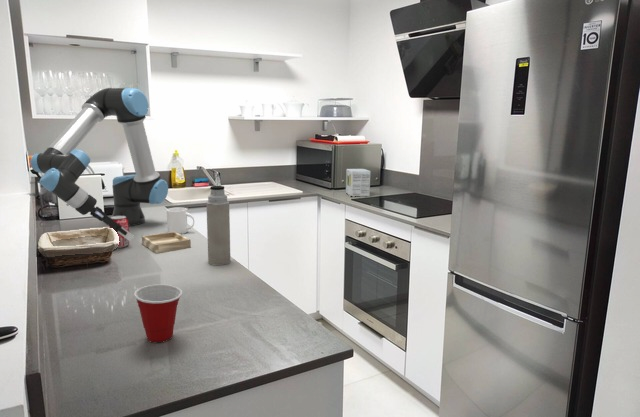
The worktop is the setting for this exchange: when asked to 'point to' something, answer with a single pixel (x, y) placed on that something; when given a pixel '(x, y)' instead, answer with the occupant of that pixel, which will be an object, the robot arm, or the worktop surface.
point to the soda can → (124, 223)
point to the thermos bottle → (218, 226)
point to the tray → (166, 242)
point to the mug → (178, 220)
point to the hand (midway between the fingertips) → (128, 236)
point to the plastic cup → (158, 310)
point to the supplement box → (358, 181)
